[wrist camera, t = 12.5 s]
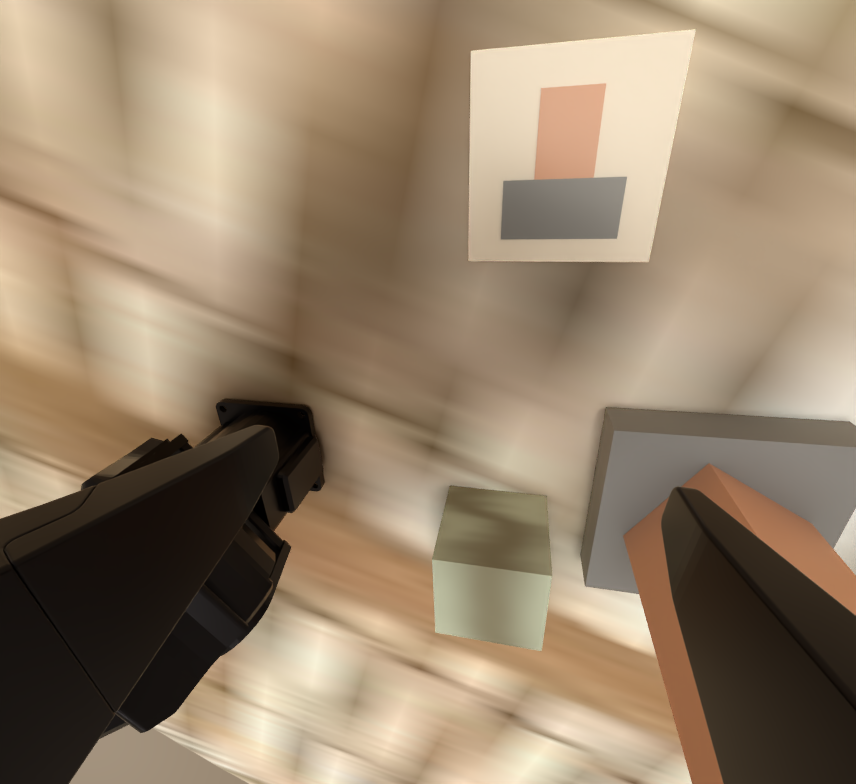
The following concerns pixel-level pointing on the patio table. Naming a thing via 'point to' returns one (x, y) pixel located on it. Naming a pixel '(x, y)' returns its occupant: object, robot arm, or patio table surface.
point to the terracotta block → (652, 580)
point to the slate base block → (726, 450)
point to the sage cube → (493, 567)
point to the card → (572, 147)
